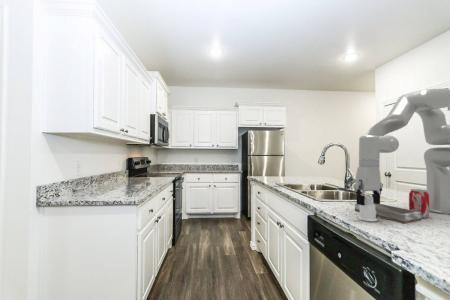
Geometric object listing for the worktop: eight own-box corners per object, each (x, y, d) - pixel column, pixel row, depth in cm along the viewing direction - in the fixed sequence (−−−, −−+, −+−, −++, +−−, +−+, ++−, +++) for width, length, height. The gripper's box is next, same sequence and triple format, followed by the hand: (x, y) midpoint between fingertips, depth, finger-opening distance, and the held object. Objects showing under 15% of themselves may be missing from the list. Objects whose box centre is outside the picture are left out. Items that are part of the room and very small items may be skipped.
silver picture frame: (371, 208, 118) (371, 201, 118) (421, 220, 98) (421, 212, 98) (354, 210, 113) (354, 203, 113) (404, 223, 93) (404, 214, 93)
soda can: (433, 219, 99) (433, 191, 100) (414, 218, 101) (414, 191, 101) (422, 215, 106) (422, 189, 107) (405, 214, 108) (405, 188, 108)
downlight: (382, 221, 95) (381, 197, 96) (368, 222, 94) (367, 198, 94) (367, 217, 103) (366, 194, 104) (353, 218, 101) (352, 195, 102)
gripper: (373, 163, 105) (373, 201, 105) (346, 163, 99) (346, 203, 98) (391, 164, 98) (390, 204, 98) (363, 164, 92) (362, 207, 91)
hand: (368, 204), depth 98 cm, fingers open, 9 cm apart
